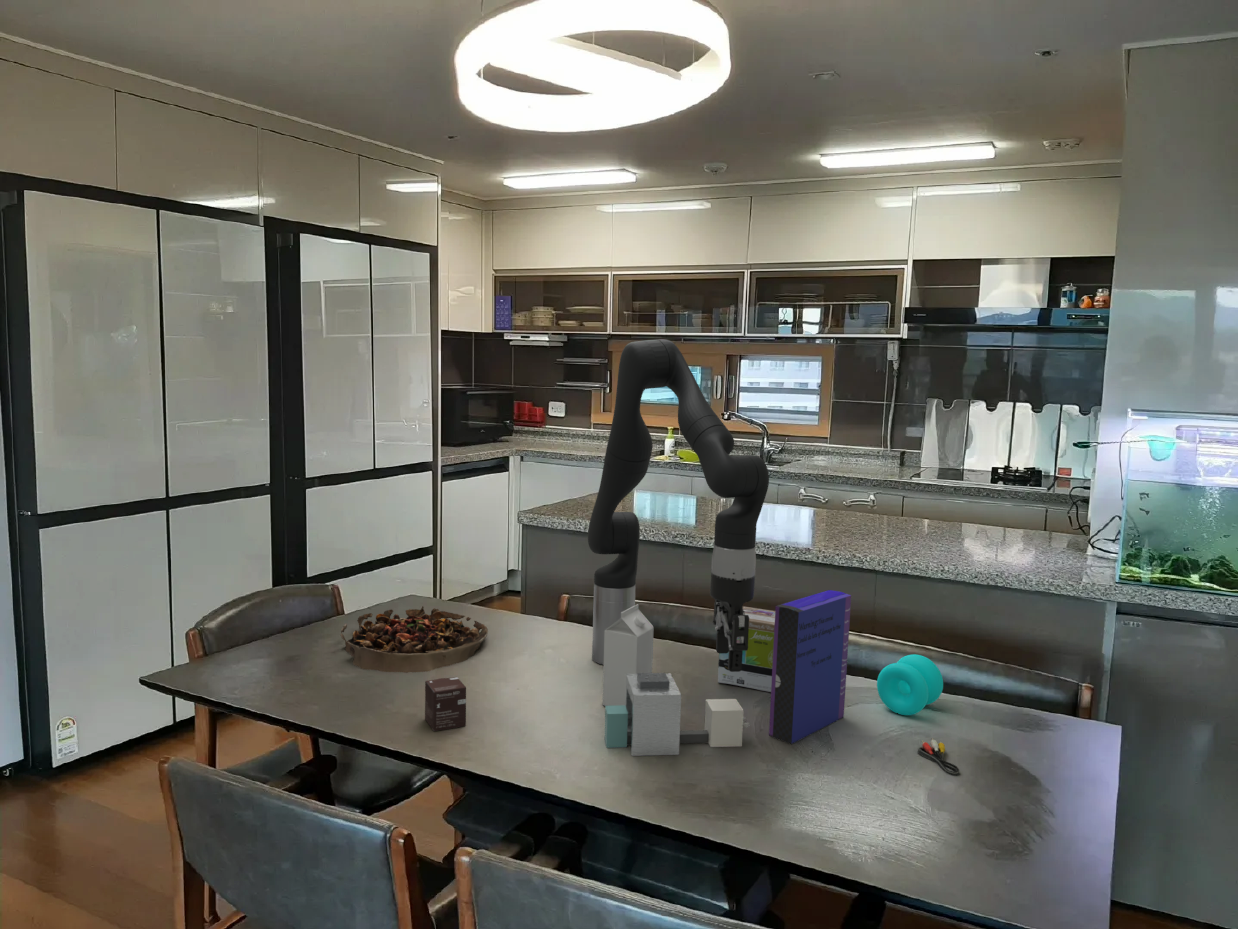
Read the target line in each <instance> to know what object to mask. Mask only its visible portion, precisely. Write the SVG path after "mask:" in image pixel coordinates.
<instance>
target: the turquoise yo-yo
mask: <svg viewBox="0 0 1238 929" xmlns="http://www.w3.org/2000/svg"><path fill="white" fill-rule="evenodd" d="M876 689H877V693H878V696H879V698H880V700H881V702H882V703H883V704H884V705H885V706H886V708H888V709H889V710H890V711H891V712H893V713H895V714H897V713H898V714H899V715H902V716H912V715H916V714H918V713H919V712H921V711H923V709H924V708H925V707H926V706H929V705H931V704H933V703H935V702H936V701H938V699H939V698H940V697H941V695H942V693H943V690H944V679H943V675H942V673H941V670H940V669H939V667H938V666H937V665H936V664H935V663H934V661H933V660H931V659H930V658H929V657H926V656H923V655H921V654H915V653H913V654H908V655H905V656H902V657H901V658H899V660H897V662H893V663H890V664H888V665H886V666H885V667H883V668H882V669H881V670H880V672H879V674H878V676H877V680H876ZM898 714H897V715H898Z"/></svg>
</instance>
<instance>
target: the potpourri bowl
mask: <svg viewBox="0 0 1238 929" xmlns="http://www.w3.org/2000/svg"><path fill="white" fill-rule="evenodd" d="M424 608H425V606H424V605H422V607H421V609H417V608H409V609H406V610H405V614H406V618H405V617H400V615H399V614H398V613H395V614H394V615H393V616H392V614H393V613H394V610H393V609H387V610H385V611H383V613H378V614H376V616H375V623H374V622H373V621H372V620H368V619H369V618H372V617H373V613H370V612H369V613H364V614H362V615H360V616H358V618H357V623H358V630H357V629H355V630H354V631H353V632H352V637H351V638H350V639H346V637H345V636H344V634H343V633H344V632H345V631H346V629H347V628H348V624H347V623H344V624H343V625H342V627H341V631H340V637H341V639H342V640H343V641H344V645H345V651H346V652H347V653H349V655H350V656H351V657H353V661H352V664H353V665H354V666H356V667H358V668H360V669H362V670H368V671H370V670H371V671H372V670H373V671H380V672H382V673H405V674H409V673H423V672H426V673H427V672H431V671H434V670H436V669H441V668H444V667H449V666H452V665H455V664H456V665H457V664H459V663H462V662H465V661H468V660H469V658H470V657H473V656H474V655H475V652H476V650H479V649H480V647H481V645H482V643H483V642H484V641H485V640H486V638H487V637H488V633H489V629H488V627H487V626H486V625H485V624H483V623H481V622H480V621H478V620H473V621H474V624H473V627H474V628H470V627H468V626H465V625H464V623H463V621H462V620H461V619H464V617H466V615H463V614H458V613H453V612H449V611H444V610H439V609H440V608H433V609H431V612H430V614H428V613H426V612H425V609H424ZM391 616H392V618H391ZM450 619H451V620H450ZM465 619H466V621H467V622H469V621H470V620H471V619H472V618H471V617H470V616H467V617H466V618H465ZM364 620H366V621H364ZM458 620H460V621H458ZM363 622H364V623H363Z"/></svg>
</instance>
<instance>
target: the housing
mask: <svg viewBox="0 0 1238 929" xmlns="http://www.w3.org/2000/svg"><path fill="white" fill-rule="evenodd" d="M625 706H626V709H627V712H628V726H627V732H632V736H631V745H630V754H631V756H632V757H638V756H641V757H642V756H645V757H646V756H674V755H675V756H678V755H680V743H679V739H680V731H681V712H682V710H681V709H682V693H681V691H680V690H679V687H678V686H677V682H676V681H675V679H674V677H673V676H672V673H671V672H668V673H666V672H652V673H637V674H626V699H625Z"/></svg>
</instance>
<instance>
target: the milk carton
mask: <svg viewBox="0 0 1238 929" xmlns="http://www.w3.org/2000/svg"><path fill="white" fill-rule="evenodd" d="M654 629H655V628H654V626H653V624H652V623H651V622H650V621H649V620H648V619H647V617H646V616H645V615H644V614H643V613H642V611H641V610H640V609H639V604H638V603H637V604H635V606H633V607H631V608H629V609H627V610H625V611H623V612H621V618H620V619H619V620H618V621H616V622H615V623H614V624H612V625H611V626H610V627H608V628H607V629H606V630H605V633H604V665H603V669H602V670H603V672H602V673H603V677H602V702H601V703H602V706H604V707H605V706H617V705H625V699H626V674H637V673H653V659H654V657H653V655H654Z"/></svg>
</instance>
